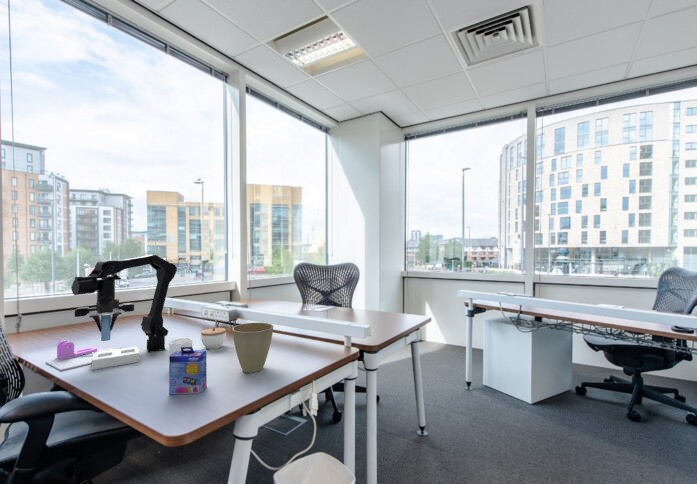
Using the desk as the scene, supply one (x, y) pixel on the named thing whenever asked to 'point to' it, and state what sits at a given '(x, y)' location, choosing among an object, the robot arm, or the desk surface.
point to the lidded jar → (213, 337)
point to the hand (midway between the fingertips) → (105, 331)
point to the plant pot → (252, 345)
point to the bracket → (71, 350)
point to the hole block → (115, 357)
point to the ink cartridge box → (187, 371)
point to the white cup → (179, 344)
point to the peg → (105, 327)
